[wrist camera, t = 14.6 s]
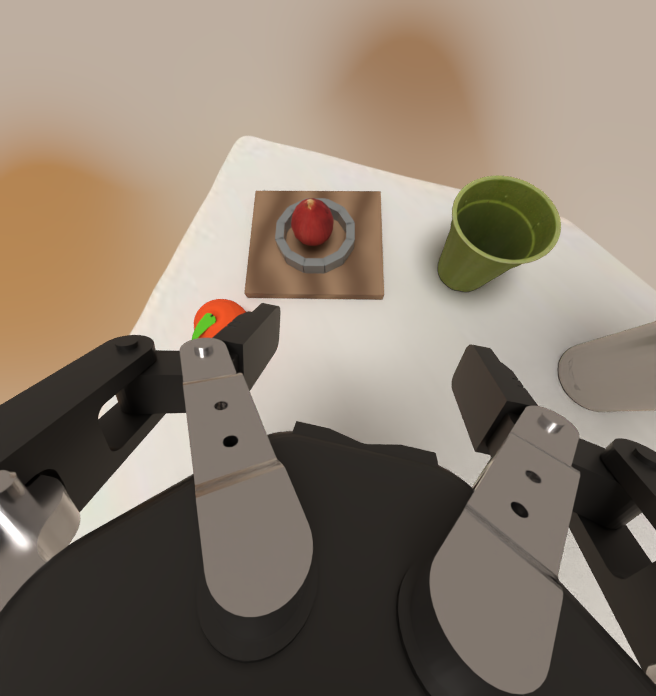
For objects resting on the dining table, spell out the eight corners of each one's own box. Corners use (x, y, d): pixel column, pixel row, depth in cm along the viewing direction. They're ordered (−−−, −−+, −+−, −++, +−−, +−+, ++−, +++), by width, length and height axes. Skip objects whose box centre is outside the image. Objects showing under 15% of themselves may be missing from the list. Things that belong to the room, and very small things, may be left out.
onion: (304, 219, 42) (298, 174, 34) (339, 231, 42) (340, 188, 34) (288, 249, 41) (279, 209, 33) (324, 262, 40) (322, 224, 32)
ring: (353, 208, 42) (354, 198, 41) (353, 273, 40) (354, 266, 38) (280, 208, 43) (278, 198, 41) (275, 272, 40) (272, 265, 38)
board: (378, 198, 45) (380, 191, 43) (382, 299, 40) (384, 294, 39) (258, 198, 45) (255, 190, 44) (247, 297, 41) (244, 293, 39)
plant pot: (513, 259, 41) (577, 202, 31) (479, 321, 39) (536, 282, 28) (443, 224, 43) (480, 158, 32) (407, 281, 41) (434, 230, 30)
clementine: (226, 372, 38) (203, 362, 31) (192, 341, 39) (162, 325, 32) (266, 330, 39) (252, 312, 32) (232, 302, 40) (212, 278, 33)
